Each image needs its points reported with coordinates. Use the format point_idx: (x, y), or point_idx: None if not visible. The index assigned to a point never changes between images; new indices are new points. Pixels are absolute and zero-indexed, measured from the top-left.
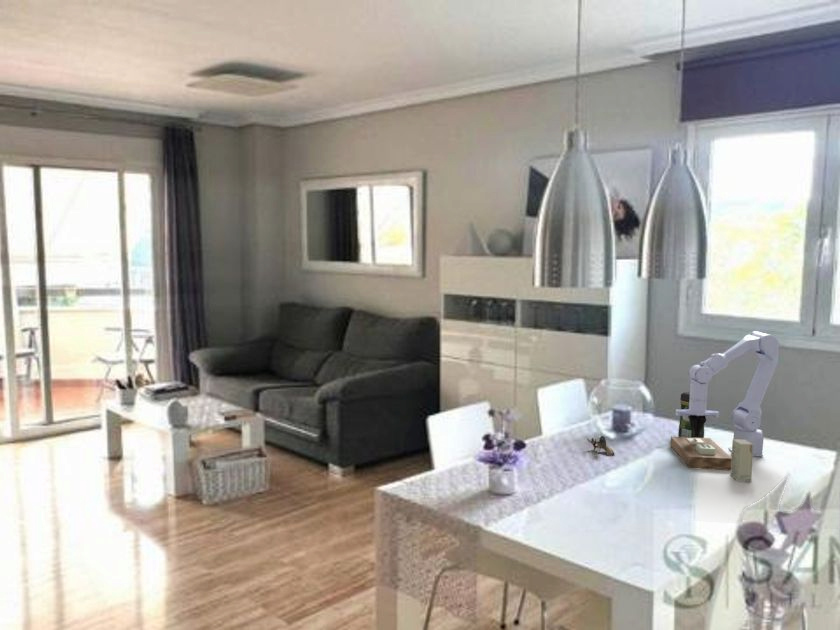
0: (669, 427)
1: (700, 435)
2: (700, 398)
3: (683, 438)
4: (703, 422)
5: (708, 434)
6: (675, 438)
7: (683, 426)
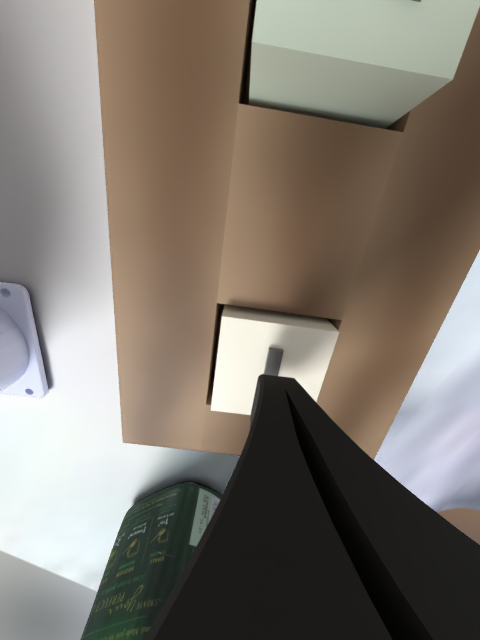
0: None
1: (144, 515)
2: None
3: None
4: (229, 581)
5: (93, 544)
6: (366, 435)
7: None
